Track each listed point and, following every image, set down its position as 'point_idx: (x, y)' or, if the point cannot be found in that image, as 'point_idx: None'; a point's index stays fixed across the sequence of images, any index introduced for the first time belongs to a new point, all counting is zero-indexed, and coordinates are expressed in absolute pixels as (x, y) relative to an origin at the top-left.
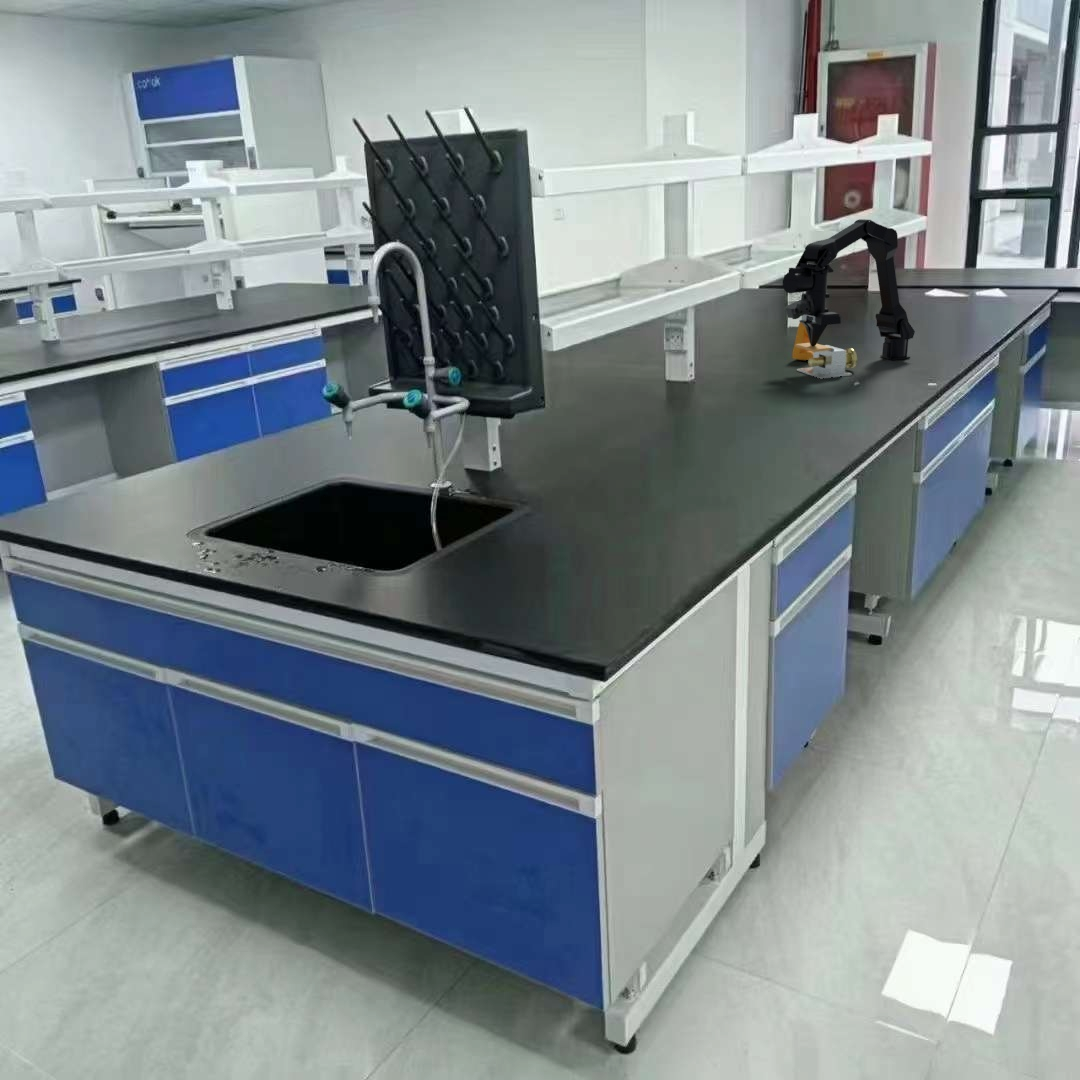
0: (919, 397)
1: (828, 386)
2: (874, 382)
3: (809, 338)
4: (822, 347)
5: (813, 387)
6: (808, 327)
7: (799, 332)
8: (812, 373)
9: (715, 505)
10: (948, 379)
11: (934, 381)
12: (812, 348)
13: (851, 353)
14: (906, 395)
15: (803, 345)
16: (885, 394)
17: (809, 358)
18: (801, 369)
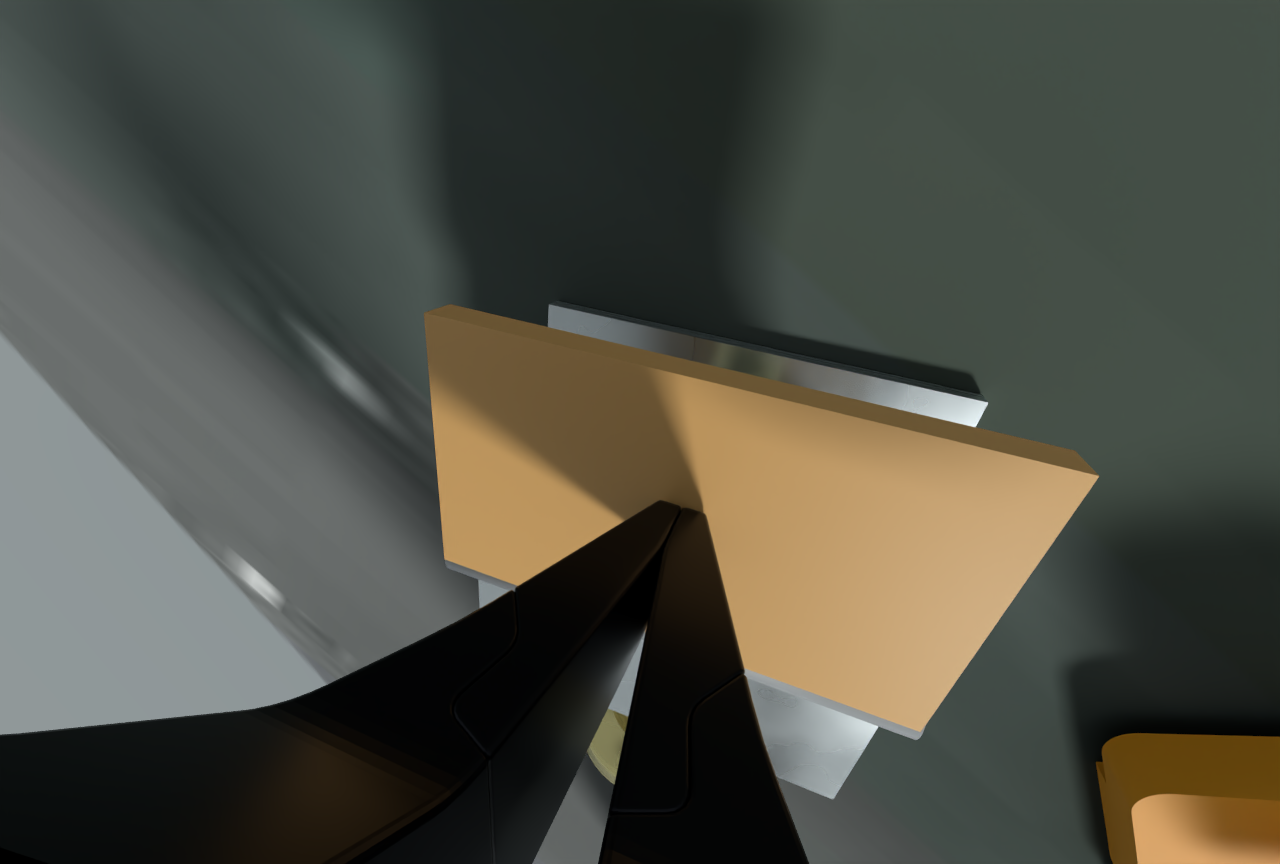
0: (49, 366)
1: (316, 157)
2: (344, 468)
3: (691, 582)
4: (507, 515)
5: (311, 5)
6: (604, 854)
7: None
8: (696, 350)
9: None
10: (318, 674)
11: (299, 626)
12: (512, 372)
13: (610, 728)
14: (80, 354)
15: (829, 467)
16: (95, 293)
17: (1169, 749)
18: (917, 406)
